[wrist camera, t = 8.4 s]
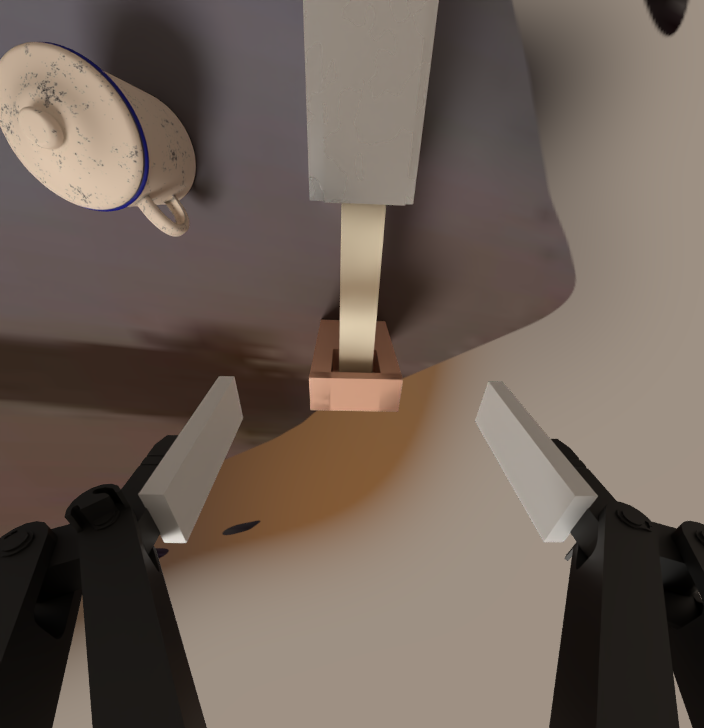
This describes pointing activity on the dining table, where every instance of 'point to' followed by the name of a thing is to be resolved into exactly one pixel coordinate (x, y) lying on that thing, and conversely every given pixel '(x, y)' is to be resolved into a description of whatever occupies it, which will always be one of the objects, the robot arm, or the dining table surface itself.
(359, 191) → the sleeve
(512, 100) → the dining table surface
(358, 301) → the bar
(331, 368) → the socket block
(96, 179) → the teacup with lid
